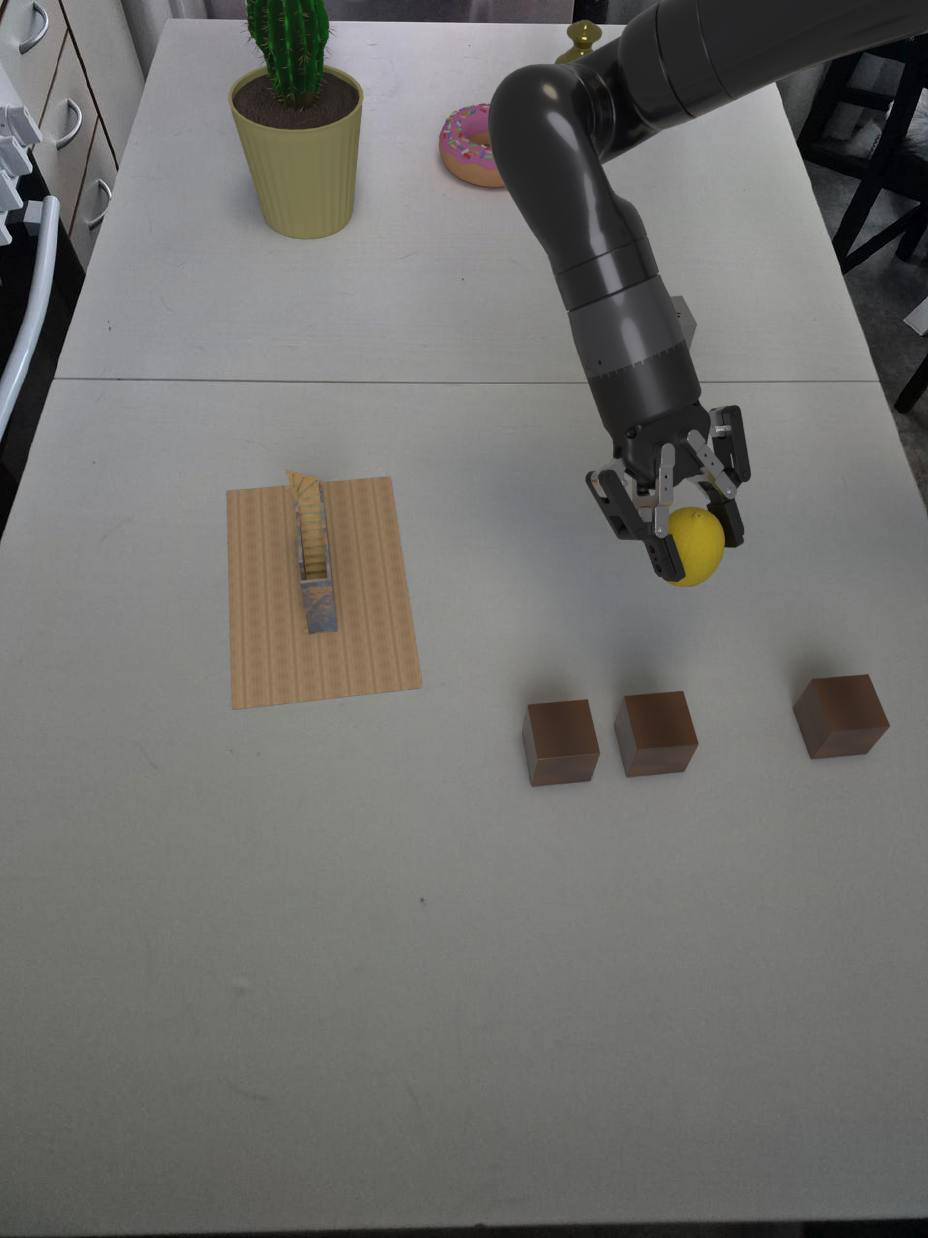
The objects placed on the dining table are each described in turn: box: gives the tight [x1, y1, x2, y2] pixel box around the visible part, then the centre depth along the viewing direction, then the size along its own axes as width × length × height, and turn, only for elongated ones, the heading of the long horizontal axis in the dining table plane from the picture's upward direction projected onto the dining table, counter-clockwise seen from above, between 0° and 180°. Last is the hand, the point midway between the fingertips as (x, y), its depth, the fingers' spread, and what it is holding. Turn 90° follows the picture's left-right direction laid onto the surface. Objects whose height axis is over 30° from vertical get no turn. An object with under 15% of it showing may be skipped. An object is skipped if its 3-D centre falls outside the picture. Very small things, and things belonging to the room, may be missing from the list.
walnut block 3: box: [792, 673, 891, 760], centre depth 81 cm, size 5×5×5 cm
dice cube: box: [670, 295, 698, 351], centre depth 109 cm, size 5×5×5 cm
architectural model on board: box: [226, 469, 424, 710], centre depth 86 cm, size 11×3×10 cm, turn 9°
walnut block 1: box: [521, 698, 601, 788], centre depth 79 cm, size 5×5×5 cm
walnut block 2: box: [613, 690, 700, 778], centre depth 79 cm, size 5×5×5 cm
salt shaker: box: [553, 19, 603, 64], centre depth 138 cm, size 7×7×10 cm
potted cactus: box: [227, 0, 365, 240], centre depth 110 cm, size 15×15×30 cm
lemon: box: [660, 506, 725, 588], centre depth 76 cm, size 6×6×8 cm
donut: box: [438, 102, 506, 188], centre depth 129 cm, size 14×14×5 cm
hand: (704, 561), depth 75 cm, fingers closed on lemon, 5 cm apart
